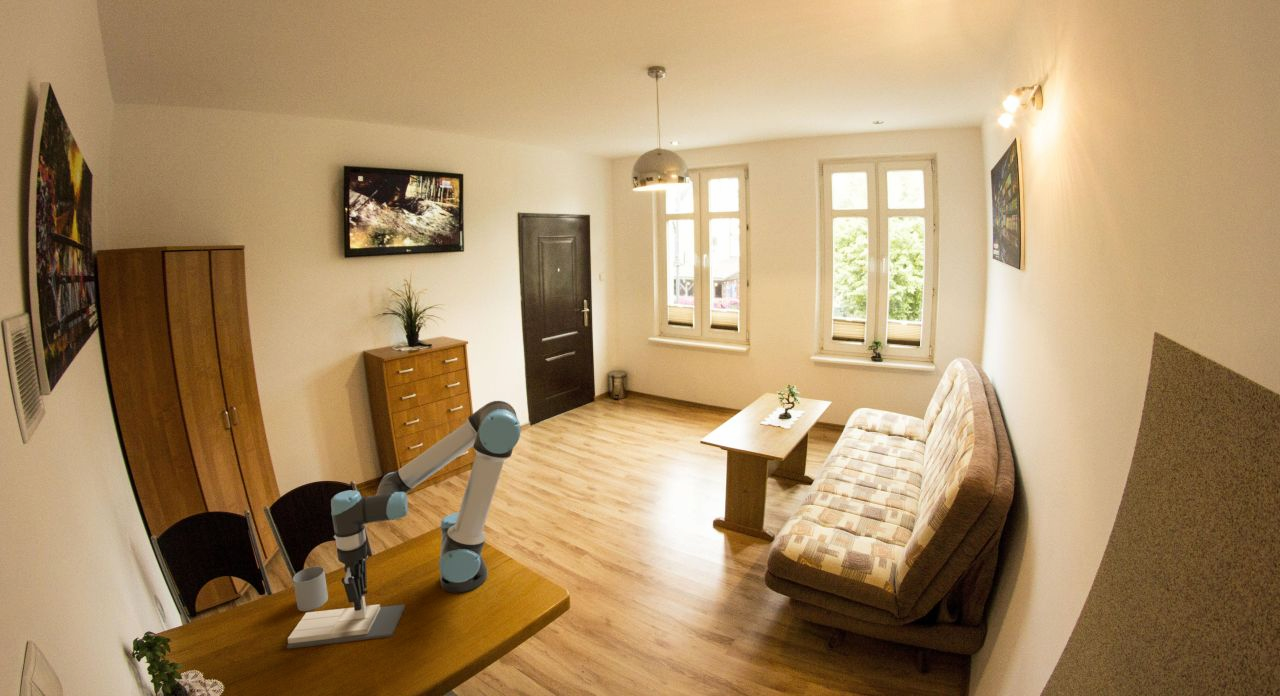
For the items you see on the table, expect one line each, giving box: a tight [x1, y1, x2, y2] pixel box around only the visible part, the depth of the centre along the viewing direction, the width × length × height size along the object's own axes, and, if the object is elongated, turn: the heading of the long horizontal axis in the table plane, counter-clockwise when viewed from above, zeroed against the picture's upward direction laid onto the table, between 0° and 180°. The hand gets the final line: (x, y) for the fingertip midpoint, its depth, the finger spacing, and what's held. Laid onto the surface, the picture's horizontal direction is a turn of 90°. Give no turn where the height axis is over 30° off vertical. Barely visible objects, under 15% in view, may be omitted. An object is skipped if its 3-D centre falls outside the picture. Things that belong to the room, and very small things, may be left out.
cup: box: [292, 565, 329, 612], centre depth 166 cm, size 8×8×10 cm
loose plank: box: [330, 603, 381, 638], centre depth 155 cm, size 10×11×2 cm
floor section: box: [286, 604, 406, 650], centre depth 155 cm, size 28×13×2 cm, turn 98°
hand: (361, 616), depth 155 cm, fingers closed
